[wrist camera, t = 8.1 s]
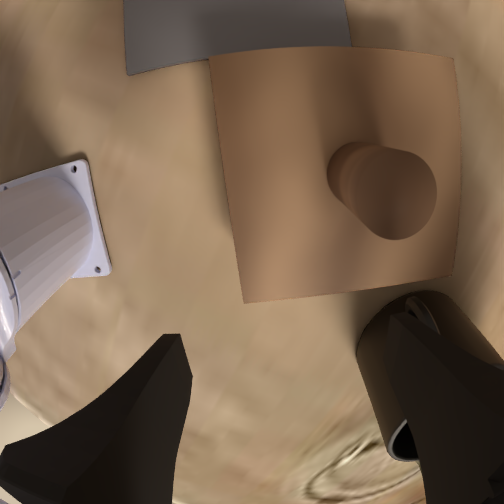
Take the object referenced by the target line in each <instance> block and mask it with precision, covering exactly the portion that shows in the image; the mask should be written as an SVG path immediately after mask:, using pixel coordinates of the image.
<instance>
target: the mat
mask: <svg viewBox="0 0 504 504" xmlns="http://www.w3.org/2000/svg"><path fill="white" fill-rule="evenodd" d="M124 36H125V54H126V69H127V75H129V76H131V75H135V74H138V73H142V72H146V71H150V70H155V69H159V68H164V67H168V66H173V65H178V64H183V63H188V62H194V61H200V60H206V59H208V57H209V56H215V55H221V54H228V53H235V52H243V51H252V50H261V49H273V48H287V47H312V46H343V47H352V45H351V38H350V32H349V26H348V20H347V14H346V9H345V3H344V0H124Z"/></svg>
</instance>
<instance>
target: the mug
mask: <svg viewBox="0 0 504 504" xmlns="http://www.w3.org/2000/svg"><path fill="white" fill-rule="evenodd" d="M403 312H407V313H409V314H410V315H412V316H414V317H415V318H417V319H418V320H420V321H421V322H423V323H424V324H425V325H427V326H428V327H430V328H431V329H433V330H434V331H436V332H437V333H438V334H440V335H441V336H443V337H444V338H446V339H447V340H449V341H450V342H452V343H453V344H455V345H457V346H458V347H460V348H461V349H463V350H465V351H466V352H468V353H470V354H471V355H473V356H475V357H477V358H479V359H480V360H482V361H484V362H486V363H489V364H491V365H493V366H495V367H497V368H499V369H501V370H504V360H503V359H502V358H501V357H500V355H499V354H498V353H497V352H496V350H495V349H494V348H493V347H492V345H491V344H490V343H489V342H488V341H487V339H486V338H485V337H484V336H483V335H482V333H481V332H480V331H479V330H478V329H477V328H476V326H475V325H474V324H473V323H472V322H471V321H470V319H469V318H468V317H467V316H466V315H465V314H464V313H463V312H462V310H461V309H460V308H459V307H458V306H457V305H456V304H455V303H454V302H453V301H452V300H451V299H450V298H449V297H448V296H447V295H444V294H442V293H439V292H435V291H418V292H414V293H410V294H407V295H405V296H403V297H400V298H398V299H397V300H395V301H393V302H392V303H390V304H389V305H387V306H386V307H385V308H383V309H382V310H381V311H380V312H379V313H378V314H377V315H376V316H375V317H374V318H373V319H372V320H371V321H370V323H369V324H368V326H367V327H366V329H365V330H364V332H363V334H362V336H361V339H360V342H359V345H358V350H357V363H358V366H359V369H360V372H361V375H362V377H363V380H364V383H365V386H366V389H367V392H368V395H369V397H370V400H371V403H372V406H373V409H374V412H375V415H376V418H377V421H378V424H379V427H380V430H381V434H382V437H383V440H384V443H385V446H386V449H387V452H388V453H389V455H390V456H391V457H392V458H394V459H395V460H398V461H405V462H410V461H419V458H418V454H417V450H416V446H415V442H414V439H413V436H412V433H411V430H410V428H409V425H408V423H407V421H406V418H405V416H404V414H403V411H402V409H401V407H400V404H399V402H398V400H397V398H396V395H395V393H394V391H393V388H392V386H391V384H390V381H389V378H388V375H387V372H386V368H385V364H384V361H383V355H384V350H385V345H386V339H387V334H388V328H389V322H390V315H391V314H397V313H403Z"/></svg>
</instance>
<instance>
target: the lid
mask: <svg viewBox="0 0 504 504" xmlns="http://www.w3.org/2000/svg"><path fill="white" fill-rule="evenodd" d="M208 59H209V66H210V74H211V82H212V90H213V97H214V105H215V112H216V120H217V127H218V134H219V141H220V149H221V156H222V163H223V170H224V177H225V184H226V191H227V197H228V204H229V211H230V218H231V224H232V231H233V238H234V244H235V251H236V257H237V264H238V270H239V277H240V283H241V290H242V296H243V302H244V304H245V303H256V302H266V301H275V300H285V299H294V298H303V297H311V296H319V295H328V294H335V293H343V292H351V291H358V290H365V289H372V288H379V287H386V286H392V285H399V284H405V283H412V282H418V281H424V280H430V279H436V278H441V277H447V276H452V272H453V266H454V259H455V252H456V244H457V235H458V226H459V214H460V199H461V169H462V154H461V125H460V110H459V99H458V89H457V81H456V73H455V67H454V60H453V58H448V57H443V56H437V55H431V54H425V53H418V52H410V51H402V50H393V49H382V48H367V47H343V46H312V47H287V48H273V49H261V50H252V51H243V52H235V53H228V54H221V55H215V56H209V57H208Z"/></svg>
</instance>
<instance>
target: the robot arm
mask: <svg viewBox="0 0 504 504" xmlns="http://www.w3.org/2000/svg"><path fill="white" fill-rule="evenodd" d="M74 165H75V166H76V167H77V171H76V172H75V171H74ZM7 188H8V189H7ZM97 266H98V267H99V268H100V269H101V271H99V270H98V269H97ZM111 270H112V266H111V263H110V259H109V256H108V252H107V248H106V244H105V240H104V236H103V232H102V228H101V224H100V220H99V215H98V211H97V206H96V202H95V197H94V192H93V187H92V181H91V176H90V170H89V165H88V162H87V161H86V160H84V159H80V160H77V161H73V162H69V163H66V164H62V165H59V166H55V167H52V168H49V169H46V170H42V171H39V172H36V173H33V174H30V175H27V176H24V177H21V178H18V179H15V180H12V181H9V182H7V183H4V184H1V185H0V411H1V409H2V408H3V406H4V405H5V402H6V400H7V398H8V394H9V391H10V384H11V383H10V374H9V370H8V367H7V365H6V362H7V360H8V359H9V358H10V357H11V355H12V354H13V353H14V352H15V351H16V346H15V343H14V336H15V334H16V333H17V332H18V330H19V329H20V328H21V327H22V326H23V325H24V324H25V323H26V322H27V321H28V320H29V318H30V317H31V316H32V315H33V314H34V313H35V312H36V311H37V310H38V309H39V308H40V307H41V306H42V305H43V304H44V303H45V302H46V301H47V300H48V299H49V298H50V297H51V296H52V295H53V294H54V293H55V292H56V291H57V290H58V289H59V288H60V287H61V286H62V285H63V284H64V283H65V282H66V281H67V280H68V279H69V278H79V277H94V276H106V275H108V274H109V273H110V272H111ZM383 361H384V364H385V368H386V372H387V375H388V378H389V381H390V384H391V386H392V388H393V391H394V393H395V395H396V398H397V400H398V402H399V404H400V407H401V409H402V411H403V414H404V416H405V418H406V421H407V423H408V425H409V428H410V430H411V433H412V436H413V439H414V442H415V446H416V450H417V454H418V458H419V462H420V467H421V471H422V476H423V482H424V488H425V496H426V504H504V370H501V369H499V368H497V367H495V366H493V365H491V364H489V363H486V362H484V361H482V360H480V359H479V358H477V357H475V356H473V355H471V354H470V353H468V352H466V351H465V350H463V349H461V348H460V347H458V346H457V345H455V344H453V343H452V342H450V341H449V340H447V339H446V338H444V337H443V336H441V335H440V334H438V333H437V332H436V331H434V330H433V329H431V328H430V327H428V326H427V325H425V324H424V323H423V322H421V321H420V320H418V319H417V318H415V317H414V316H412V315H410V314H409V313H407V312H403V313H397V314H391V315H390V322H389V328H388V334H387V339H386V345H385V350H384V355H383ZM192 377H193V376H192V372H191V369H190V366H189V363H188V359H187V356H186V353H185V349H184V346H183V342H182V339H181V335H180V334H163V335H162V336H161V337H160V338H159V339H158V340H157V341H156V342H155V343H154V344H153V345H152V346H151V347H150V348H149V349H148V350H147V351H146V353H145V354H144V355H143V356H142V357H141V358H140V359H139V360H138V361H137V362H136V363H135V364H134V365H133V366H132V367H131V368H130V369H129V370H128V371H127V372H126V373H125V374H124V375H123V376H122V377H120V378H119V379H118V380H117V381H116V382H115V383H114V384H113V385H112V386H111V387H110V388H108V389H107V390H106V391H105V392H104V393H103V394H101V395H100V396H99V397H98V398H96V399H95V400H94V401H92V402H91V403H90V404H88V405H87V406H85V407H84V408H83V409H81V410H79V411H78V412H76V413H75V414H73V415H71V416H70V417H68V418H67V419H65V420H63V421H62V422H60V423H58V424H56V425H54V426H52V427H50V428H48V429H46V430H44V431H42V432H40V433H38V434H35V435H33V436H31V437H28V438H25V439H22V440H20V441H17V442H14V443H11V444H8V445H6V446H5V448H4V449H3V451H2V453H1V455H0V486H1V487H2V488H3V489H4V490H5V491H7V492H8V493H9V494H10V495H12V496H13V497H14V498H15V499H17V500H18V501H19V502H21V503H22V504H172V494H173V481H174V471H175V462H176V457H177V452H178V448H179V443H180V439H181V435H182V431H183V427H184V423H185V419H186V415H187V411H188V407H189V403H190V396H191V387H192ZM0 504H8V503H6V502H5V501H3V500H1V499H0Z"/></svg>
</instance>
